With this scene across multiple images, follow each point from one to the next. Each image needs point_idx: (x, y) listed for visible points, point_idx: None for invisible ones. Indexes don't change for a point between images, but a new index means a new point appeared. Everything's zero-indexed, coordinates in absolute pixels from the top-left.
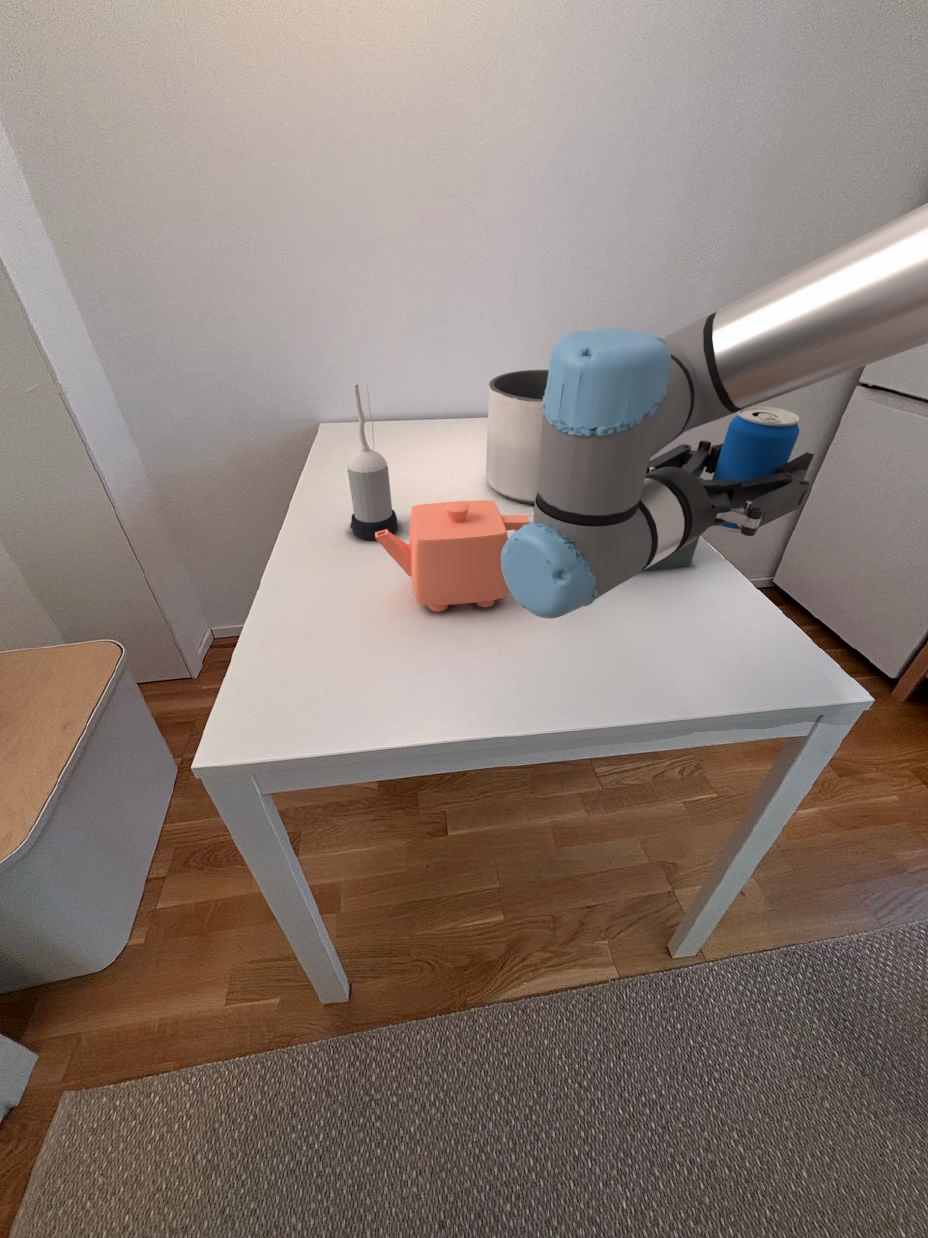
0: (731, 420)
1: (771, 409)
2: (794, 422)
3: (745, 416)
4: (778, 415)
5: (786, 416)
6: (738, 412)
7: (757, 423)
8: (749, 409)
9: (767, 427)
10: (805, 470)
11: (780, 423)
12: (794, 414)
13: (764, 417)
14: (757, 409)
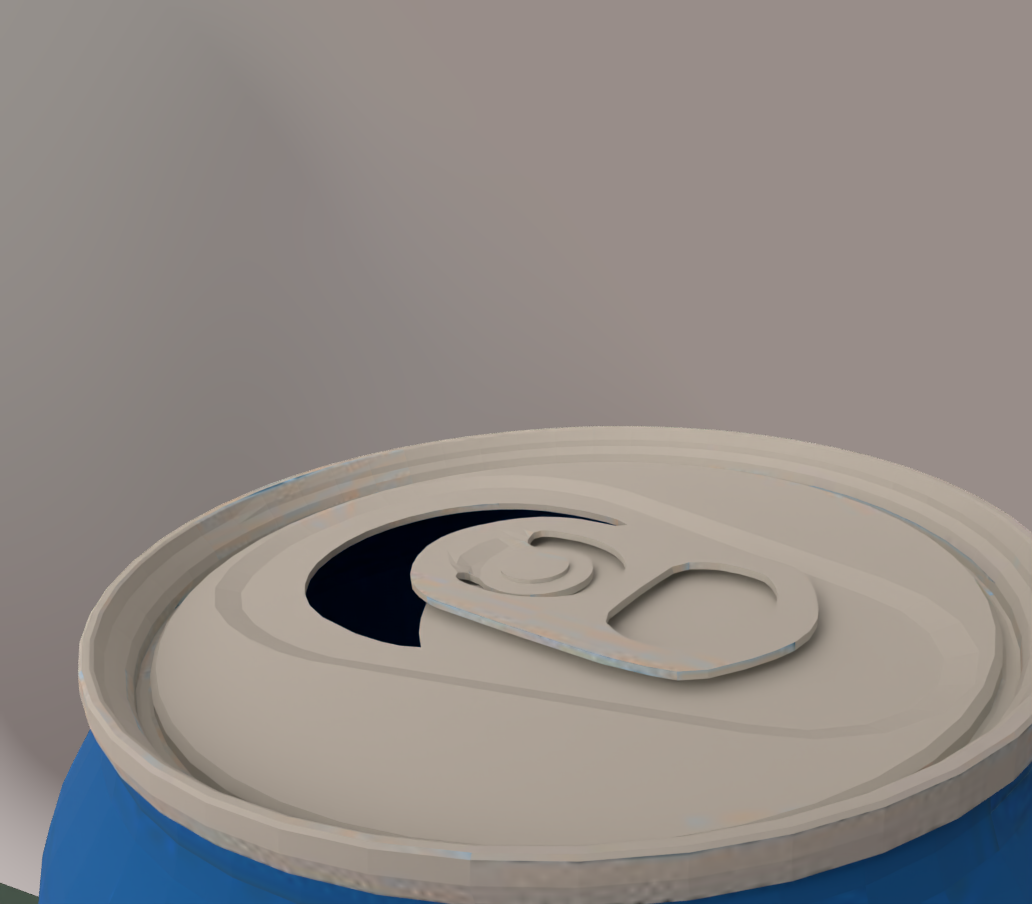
0: (46, 852)
1: (429, 465)
2: (1010, 521)
3: (286, 738)
4: (579, 500)
5: (669, 481)
6: (101, 724)
7: (779, 882)
8: (218, 554)
9: (984, 844)
10: None
11: (876, 609)
12: (701, 436)
13: (567, 606)
14: (301, 516)
